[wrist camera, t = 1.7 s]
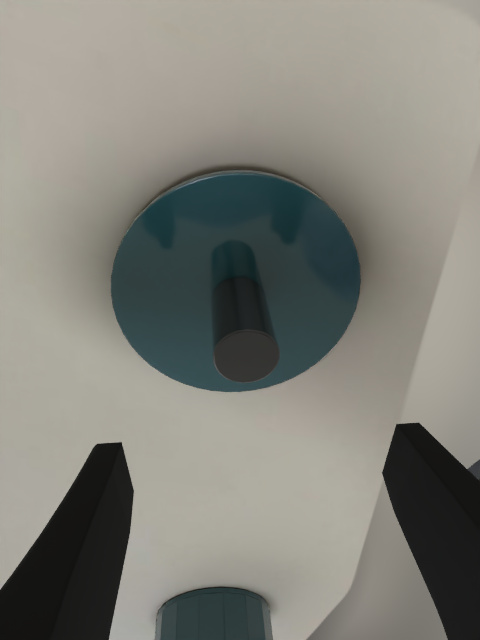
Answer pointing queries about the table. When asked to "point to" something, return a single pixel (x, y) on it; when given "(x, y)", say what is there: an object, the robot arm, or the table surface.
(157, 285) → the lid
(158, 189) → the table surface
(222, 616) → the tin
